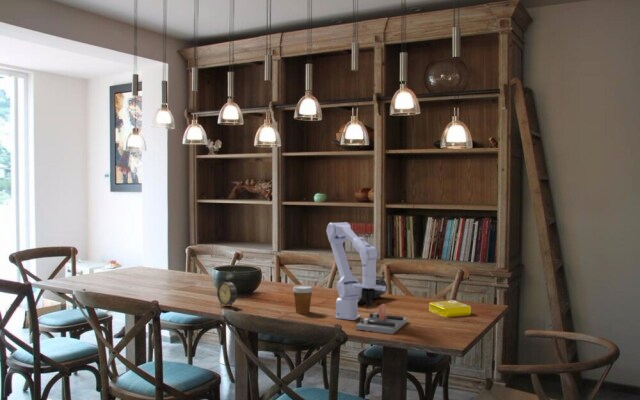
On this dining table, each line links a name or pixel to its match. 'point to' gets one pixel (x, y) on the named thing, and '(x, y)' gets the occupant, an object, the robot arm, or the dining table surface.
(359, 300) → the muzzle brake
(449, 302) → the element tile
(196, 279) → the dining table surface
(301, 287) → the disposable coffee cup
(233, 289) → the alarm clock
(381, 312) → the lever
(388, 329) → the box
